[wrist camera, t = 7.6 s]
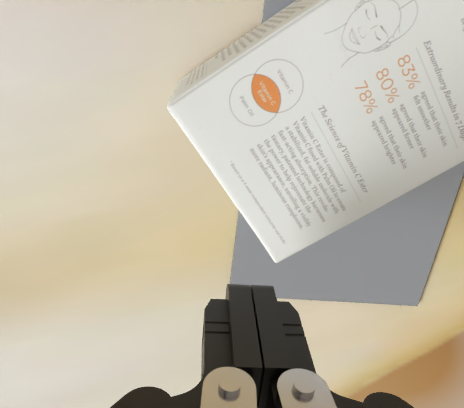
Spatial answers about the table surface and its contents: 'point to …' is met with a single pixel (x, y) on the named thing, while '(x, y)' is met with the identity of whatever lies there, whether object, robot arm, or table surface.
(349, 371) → the table surface
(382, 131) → the small box
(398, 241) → the mat
